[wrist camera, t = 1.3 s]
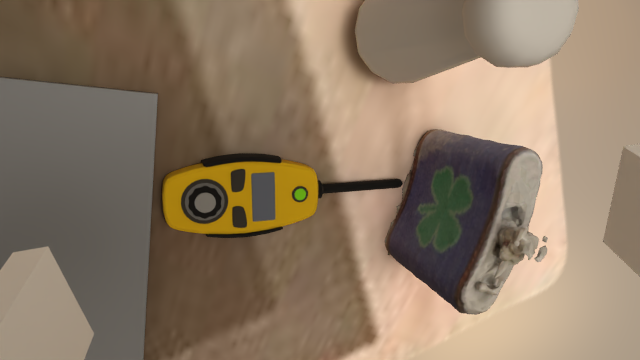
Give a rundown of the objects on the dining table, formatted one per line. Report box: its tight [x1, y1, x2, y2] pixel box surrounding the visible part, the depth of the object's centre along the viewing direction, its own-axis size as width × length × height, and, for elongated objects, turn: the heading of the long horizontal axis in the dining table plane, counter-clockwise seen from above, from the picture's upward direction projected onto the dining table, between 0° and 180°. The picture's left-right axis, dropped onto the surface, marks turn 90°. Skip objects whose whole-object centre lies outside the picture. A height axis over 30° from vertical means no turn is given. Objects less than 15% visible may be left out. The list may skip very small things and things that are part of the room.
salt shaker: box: [355, 0, 579, 83], centre depth 23 cm, size 6×6×13 cm
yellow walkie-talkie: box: [162, 154, 403, 238], centre depth 29 cm, size 5×2×15 cm
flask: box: [385, 130, 548, 315], centre depth 27 cm, size 9×3×11 cm, turn 161°
